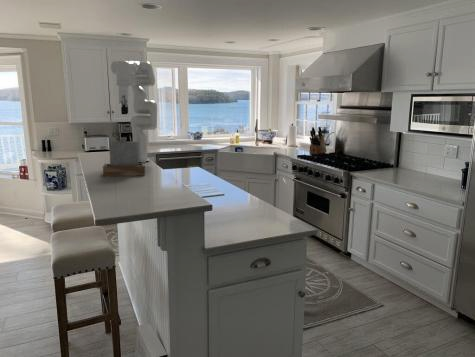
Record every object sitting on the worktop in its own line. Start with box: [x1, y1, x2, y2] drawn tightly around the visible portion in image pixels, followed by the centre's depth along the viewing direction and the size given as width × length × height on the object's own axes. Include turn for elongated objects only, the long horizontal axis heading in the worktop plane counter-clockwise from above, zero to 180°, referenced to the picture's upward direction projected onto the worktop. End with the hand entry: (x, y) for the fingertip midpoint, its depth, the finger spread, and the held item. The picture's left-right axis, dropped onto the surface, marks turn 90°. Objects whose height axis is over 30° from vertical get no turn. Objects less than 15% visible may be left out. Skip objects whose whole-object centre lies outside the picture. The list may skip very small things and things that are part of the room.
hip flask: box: [108, 137, 139, 166], centre depth 217 cm, size 16×4×20 cm, turn 105°
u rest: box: [102, 162, 146, 178], centre depth 219 cm, size 12×23×6 cm, turn 103°
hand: (124, 113), depth 217 cm, fingers open, 9 cm apart
